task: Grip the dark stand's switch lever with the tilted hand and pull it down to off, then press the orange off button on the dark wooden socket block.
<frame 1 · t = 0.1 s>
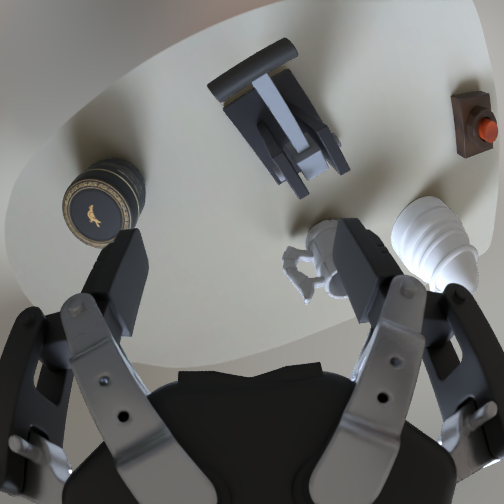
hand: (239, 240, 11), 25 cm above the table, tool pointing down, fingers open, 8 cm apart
honey pot: (420, 227, 43), on the table
dark stand: (282, 126, 31), on the table
switch lever: (287, 121, 18), point 14 cm above the table, hinge at 28.0°
off button: (488, 130, 27), point 4 cm above the table, slide at 0.1 cm
mug: (314, 239, 43), on the table
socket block: (469, 121, 30), on the table
jar: (116, 187, 34), on the table
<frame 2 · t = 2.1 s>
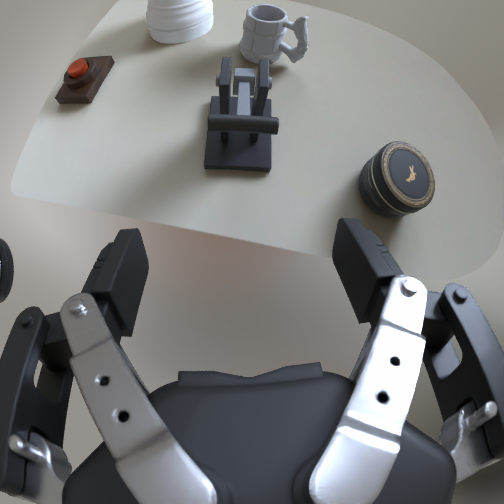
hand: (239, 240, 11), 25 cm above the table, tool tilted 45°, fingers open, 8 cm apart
honey pot: (181, 26, 40), on the table
dark stand: (239, 133, 38), on the table
switch lever: (243, 97, 23), point 14 cm above the table, hinge at 28.0°
off button: (77, 68, 33), point 4 cm above the table, slide at 0.1 cm
mug: (270, 56, 40), on the table
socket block: (86, 82, 37), on the table
jar: (382, 190, 39), on the table
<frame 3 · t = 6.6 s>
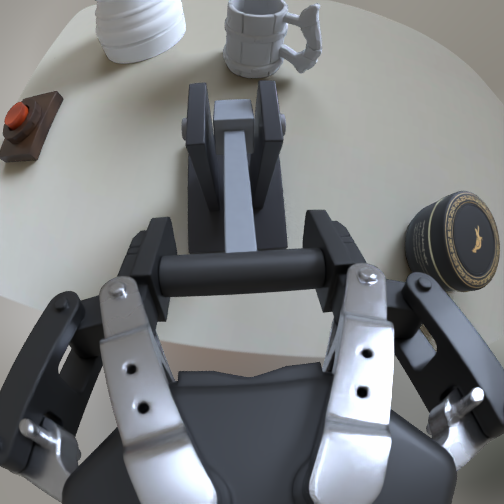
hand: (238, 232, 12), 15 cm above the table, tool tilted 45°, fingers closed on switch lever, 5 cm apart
honey pot: (144, 37, 30), on the table
dark stand: (235, 191, 27), on the table
switch lever: (236, 173, 13), point 14 cm above the table, hinge at 27.9°, touching gripper
off button: (16, 115, 23), point 4 cm above the table, slide at 0.1 cm
mug: (267, 66, 30), on the table
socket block: (32, 130, 27), on the table
jar: (431, 249, 28), on the table
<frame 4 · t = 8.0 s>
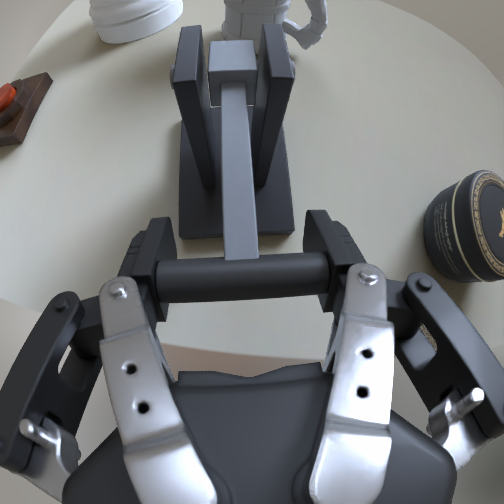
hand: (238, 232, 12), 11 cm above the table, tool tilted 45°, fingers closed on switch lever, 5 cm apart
honey pot: (140, 19, 27), on the table
dark stand: (233, 168, 23), on the table
switch lever: (235, 142, 10), point 12 cm above the table, hinge at 6.1°, touching gripper
off button: (3, 97, 19), point 4 cm above the table, slide at 0.1 cm
mug: (269, 43, 26), on the table
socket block: (20, 113, 24), on the table
jar: (450, 238, 24), on the table
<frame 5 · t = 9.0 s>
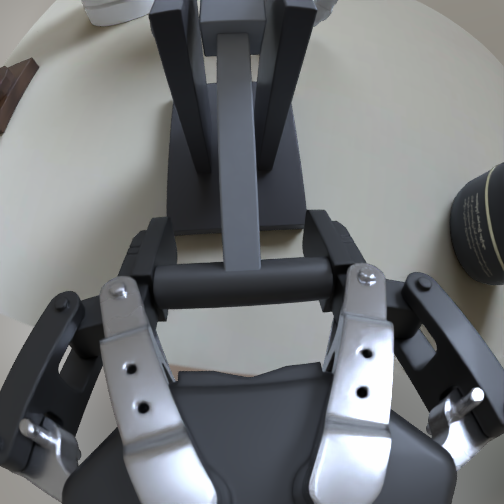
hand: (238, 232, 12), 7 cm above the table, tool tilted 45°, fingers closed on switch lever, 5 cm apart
honey pot: (133, 1, 23), on the table
dark stand: (233, 151, 19), on the table
switch lever: (235, 116, 8), point 11 cm above the table, hinge at -15.6°, touching gripper
mug: (273, 21, 22), on the table
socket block: (4, 102, 20), on the table
jar: (476, 235, 20), on the table
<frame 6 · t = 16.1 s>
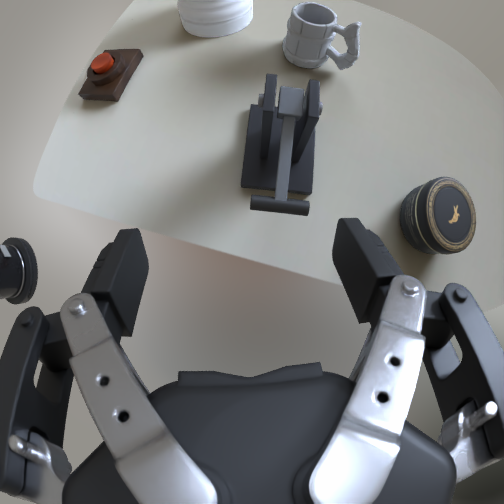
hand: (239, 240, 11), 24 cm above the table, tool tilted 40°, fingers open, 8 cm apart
honey pot: (217, 17, 36), on the table
dark stand: (279, 148, 36), on the table
switch lever: (285, 149, 25), point 11 cm above the table, hinge at -16.3°
off button: (102, 63, 32), point 4 cm above the table, slide at 0.1 cm
mug: (315, 60, 36), on the table
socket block: (112, 76, 36), on the table
jar: (422, 220, 35), on the table
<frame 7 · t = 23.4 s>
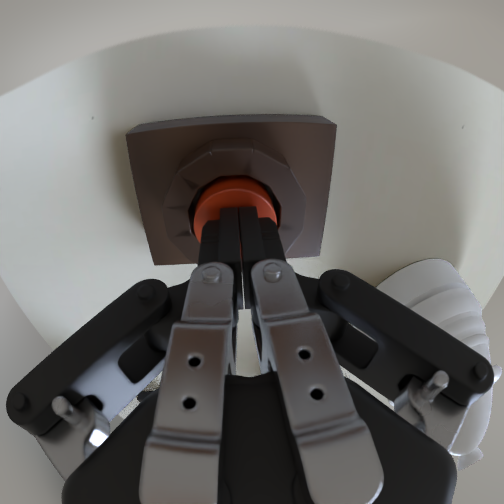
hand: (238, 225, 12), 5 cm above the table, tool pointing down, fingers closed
honey pot: (407, 306, 25), on the table
off button: (234, 216, 13), point 4 cm above the table, slide at -0.5 cm, touching gripper
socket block: (232, 182, 16), on the table
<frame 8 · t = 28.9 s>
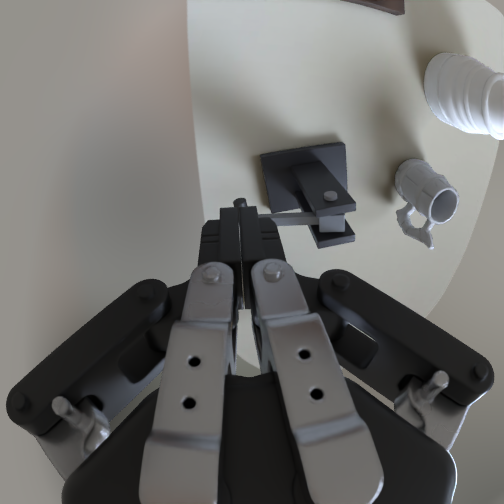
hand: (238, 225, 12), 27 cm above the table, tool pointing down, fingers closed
honey pot: (451, 88, 30), on the table
dark stand: (305, 175, 39), on the table
switch lever: (290, 219, 31), point 11 cm above the table, hinge at -16.3°
mug: (405, 186, 41), on the table
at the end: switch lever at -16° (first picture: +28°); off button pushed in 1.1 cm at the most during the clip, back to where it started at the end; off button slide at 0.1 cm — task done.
